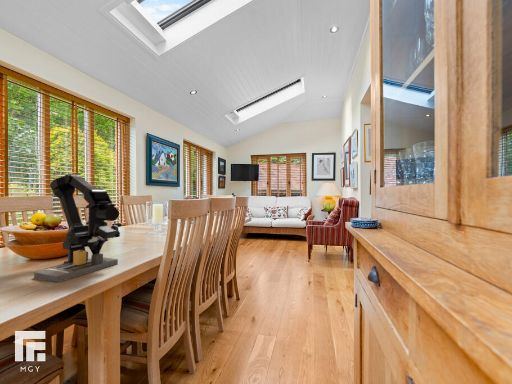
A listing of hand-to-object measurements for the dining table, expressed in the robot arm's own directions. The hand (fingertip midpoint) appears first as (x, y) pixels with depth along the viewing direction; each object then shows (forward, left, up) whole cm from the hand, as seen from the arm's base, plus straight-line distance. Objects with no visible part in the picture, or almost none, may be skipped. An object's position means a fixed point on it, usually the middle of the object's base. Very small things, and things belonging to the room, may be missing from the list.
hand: (95, 257), depth 106 cm
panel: (0, -7, -4) cm, 8 cm away
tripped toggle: (0, -7, -1) cm, 7 cm away
